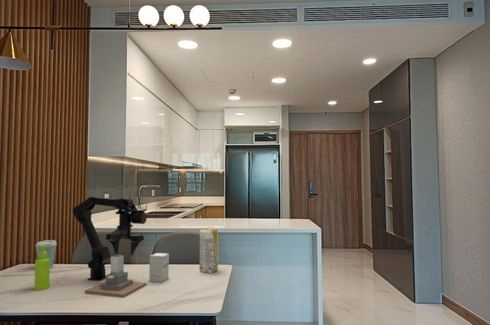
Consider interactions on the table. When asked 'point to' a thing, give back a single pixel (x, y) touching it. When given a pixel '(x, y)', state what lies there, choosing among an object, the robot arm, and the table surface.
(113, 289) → the tan base plate
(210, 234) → the juice carton
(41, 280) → the soap dispenser
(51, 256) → the disposable coffee cup
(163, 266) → the supplement box
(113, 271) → the block
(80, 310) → the table surface
